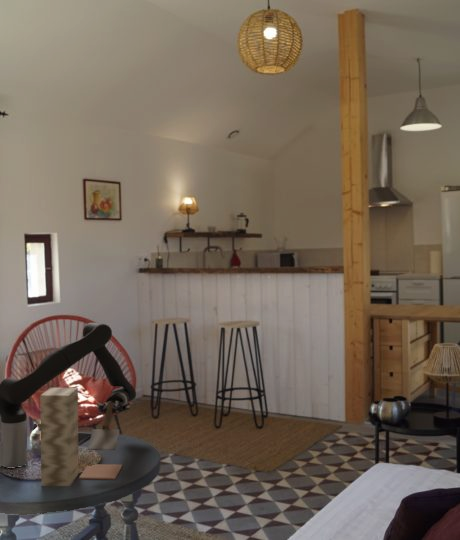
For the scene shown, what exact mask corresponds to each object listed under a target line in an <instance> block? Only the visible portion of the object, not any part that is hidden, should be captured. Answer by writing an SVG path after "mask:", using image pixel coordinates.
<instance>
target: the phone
mask: <svg viewBox="0 0 460 540" xmlns="http://www.w3.org/2000/svg"><path fill="white" fill-rule="evenodd" d="M91 434H92V433H85V432H84V433H82V432H78V447H79V446H81V445H82V444H83V443H85V442H86V441H88V440H90V438H91Z"/></svg>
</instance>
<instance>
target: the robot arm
mask: <svg viewBox="0 0 460 540" xmlns="http://www.w3.org/2000/svg"><path fill="white" fill-rule="evenodd" d="M112 335H113V331H112V329H111V327H110V325H107V324H105V323H101V322H89V323H87V324H85V326H84V328H83V330H82V336H83V337H82V338H79V339H78V340H75V341H73V342H72V341H71V342H69V343H66V344H64V345H62V346H59V347H57V348H56V349H54V350H52V351H51V352H49V353H48V354H47V355H46V356H44V357H43V359H42V360H41V361H40V362H39V364H38V366H37V367H36V368H35V369H34V370H33V371H32V372H30V373H29V374H27V375H26V376H24V377H22V378H20V379H19V378H15V377H6V378H4V379H3V380H2V381H1V382H0V421H1V422H0V426H1V428H0V430H1V435H0V436H1V437H0V438H1V441H0V468H4V467H18V466H23V465H25V464H26V463H27V464H28V435H27V434H28V428H27V427H28V426H27V424H28V423H27V422H28V421H27V420H28V419H27V418H28V417H27V415H28V414H27V412H26V410H25V409H24V407H23V405H22V403H23V404H24V403H25V402H26V401H27V400H29V399H30V397H32V396H34V395H35V393H36V392H38V391H39V390H40V389H41V388H42V387H44V386H45V385H46V384H48V383H50V382H51V381H52V380H54V379H55V378H56V377H58V376H60V375H61V374H62V373H65V372H66V371H67V370H68V369H70V368H72V366H74V365H75V364H77V363H78V362H80V361H81V360H83V358H85V357H86V356H87V355H90V353H93V354H94V356H95V358H96V359H97V361H98V362H99V364H100V366H101V368H102V370H103V372H104V374H105V376H106V379H107V381H108V383H109V384H110V386H111V387H117V388H115V389H113V390H112V391H111V395H109V397H107V399H106V402H103V403H101V402H97V403H96V405H97V406H96V407H97V408H96V409H97V411H99V412H101V413H103V414H104V415H105V413H106V410H107V405H108V403H114V404H115V406H114V407H113V408H112V414H113V415H114V414H119V413H122V412H125V411H128V410H130V406H131V405H130V402H132V401H134V400H135V399H136V397H137V391H136V388H135V387H134V386H133V385H132V384H131V382H129V380H128V379H127V378H126V376H125V375H124V372H123V370H122V367H121V366H120V364H119V362H118V361H117V359H116V358H115V357H114V356H113V354H111V352H110V351H109V349H108V348H107V347H106V345H107V344H108V343H109V342H110V340H111V339H112ZM27 464H26V465H27ZM26 465H25V466H26ZM1 466H3V467H1ZM23 467H24V466H23Z"/></svg>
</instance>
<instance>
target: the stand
mask: <svg viewBox="0 0 460 540" xmlns="http://www.w3.org/2000/svg"><path fill="white" fill-rule="evenodd" d="M39 397H40V403H39V404H40V421H41V440H40V466H41V467H40V471H41V473H40V475H41V477H40V481H41V482H40V483H41V484H40V485H41V487H70V486H71V485H72V484H73V482H74V481H75V480H76V478H77V477H78V475H79V474H80V473H79V446H78V433H79V389H78V387H49V388H48V389H47V390H45V391H44V392H43V393H42V394H40V396H39Z"/></svg>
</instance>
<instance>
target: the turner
mask: <svg viewBox="0 0 460 540" xmlns="http://www.w3.org/2000/svg"><path fill="white" fill-rule="evenodd" d="M114 406H115V404H114V403H108V405H107V410H106V413H105V414H104V417H103V421H102V422H103V423H102V426H101V427H102V428H100V429H99V428H93V429H92V430H91V433H90V434H91V438H90V439H89V442H88V446H87V451H116V448H117V444H118V439H119V433H120V429H118V428H113V429H111V428H112V427H111V425H112V422H113V417H114V414H112V408H113V407H114Z"/></svg>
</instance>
